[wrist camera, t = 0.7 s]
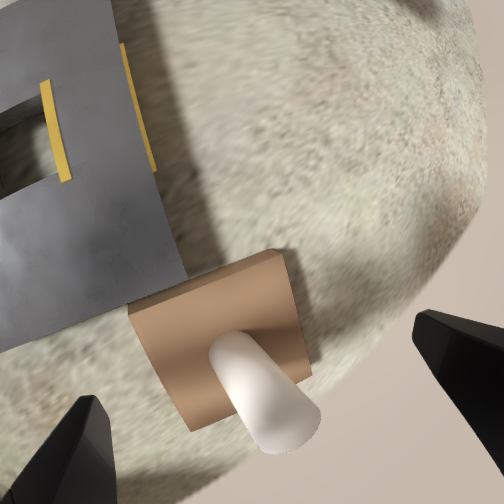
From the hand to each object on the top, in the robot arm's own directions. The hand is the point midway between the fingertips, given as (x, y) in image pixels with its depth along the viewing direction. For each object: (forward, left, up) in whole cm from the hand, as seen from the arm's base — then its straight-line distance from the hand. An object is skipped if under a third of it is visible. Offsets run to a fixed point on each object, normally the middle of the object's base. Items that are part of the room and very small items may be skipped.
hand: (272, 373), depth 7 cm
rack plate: (+10, +7, -13) cm, 18 cm away
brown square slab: (-6, -1, -13) cm, 15 cm away
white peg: (-6, -1, -11) cm, 13 cm away
